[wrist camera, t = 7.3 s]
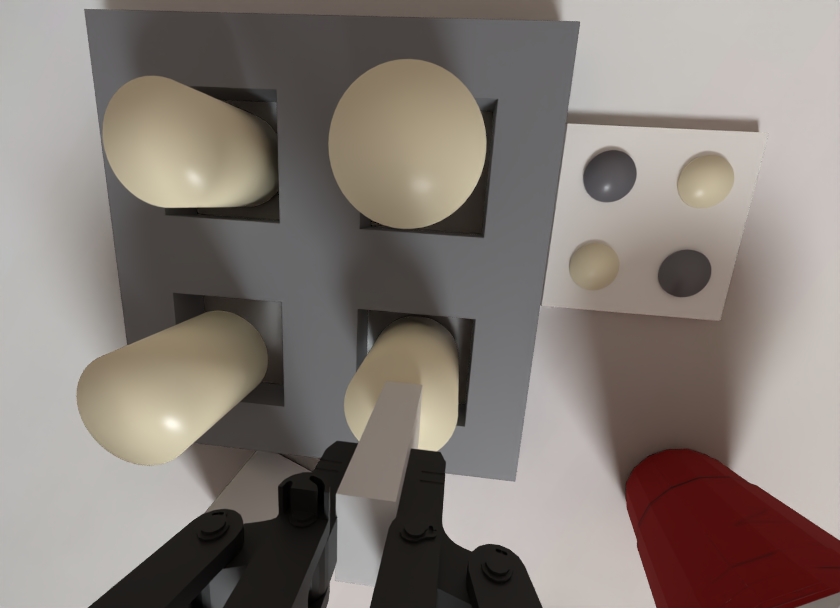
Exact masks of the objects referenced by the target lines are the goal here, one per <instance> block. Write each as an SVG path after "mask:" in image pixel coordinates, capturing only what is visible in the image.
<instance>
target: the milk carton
mask: <svg viewBox="0 0 840 608" xmlns="http://www.w3.org/2000/svg"><path fill="white" fill-rule="evenodd" d="M302 472H311V471H309V470H307V469H305V468H304V467H302V466H300V465H298V464H296V463H294V462H292V461H291V460H289V459H287V458H285V457H283V456H281V455H280V454H278V453H273V452H265V451H256V452H255V453H254V454H253V455H252V457H251V458H250V459H249V460H248V461H247V463H246V464H245V465H244V466H243V467H242V469H241V470H240V471H239V472H238V473H237V475H236V476H235V477H234V478H233V479H232V481H231V482H230V483H229V484H228V485H227V487H226V488H225V489H224V490H223V491H222V493H221V494H220V495H219V496H218V497H217V499H216V500H215V501H214V502H213V503H212V505H211V506H210V507H209V508H208V509H207V511H206V512H205V513H207V512H210V511H213V510H217V509H231V510H235V511H236V512H238V513H239V514H241V516H242V519H243V524H245V523H252V522H260V521H266V520H271V519H273V518H276V517H277V516H278V514H279V507H278V485H279V484H280V483H281V482H282V481H283V480H284V479H286V478H288V477H290V476H292V475H294V474H298V473H302Z"/></svg>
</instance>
